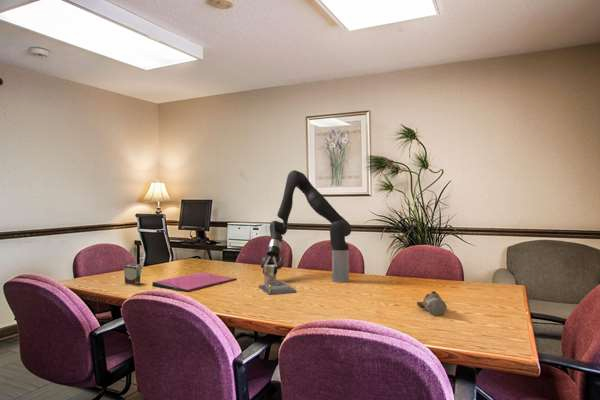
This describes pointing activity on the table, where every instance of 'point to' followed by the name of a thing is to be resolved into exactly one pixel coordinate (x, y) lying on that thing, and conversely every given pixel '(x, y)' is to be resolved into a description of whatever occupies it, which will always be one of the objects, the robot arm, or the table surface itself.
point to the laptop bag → (192, 282)
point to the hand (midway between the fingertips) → (269, 273)
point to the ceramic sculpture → (433, 304)
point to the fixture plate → (276, 288)
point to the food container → (132, 273)
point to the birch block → (269, 273)
